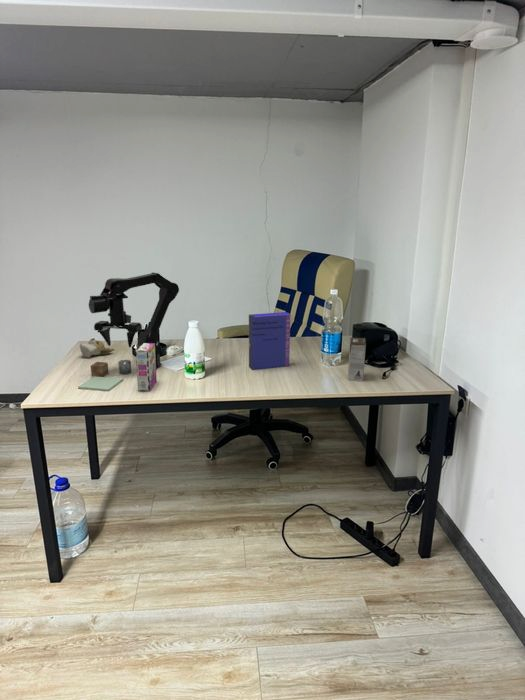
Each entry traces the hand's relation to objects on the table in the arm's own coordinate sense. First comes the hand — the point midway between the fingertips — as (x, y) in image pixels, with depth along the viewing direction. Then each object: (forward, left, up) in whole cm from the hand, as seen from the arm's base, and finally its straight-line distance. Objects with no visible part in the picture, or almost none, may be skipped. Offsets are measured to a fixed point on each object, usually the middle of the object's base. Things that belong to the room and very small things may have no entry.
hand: (119, 346), depth 197 cm
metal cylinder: (-1, -1, -12) cm, 12 cm away
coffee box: (-98, -15, -12) cm, 100 cm away
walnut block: (+8, +4, -12) cm, 15 cm away
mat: (+2, +14, -12) cm, 18 cm away
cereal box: (-60, -21, -12) cm, 65 cm away
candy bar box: (-17, +12, -12) cm, 24 cm away
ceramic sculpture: (+24, -21, -12) cm, 34 cm away
